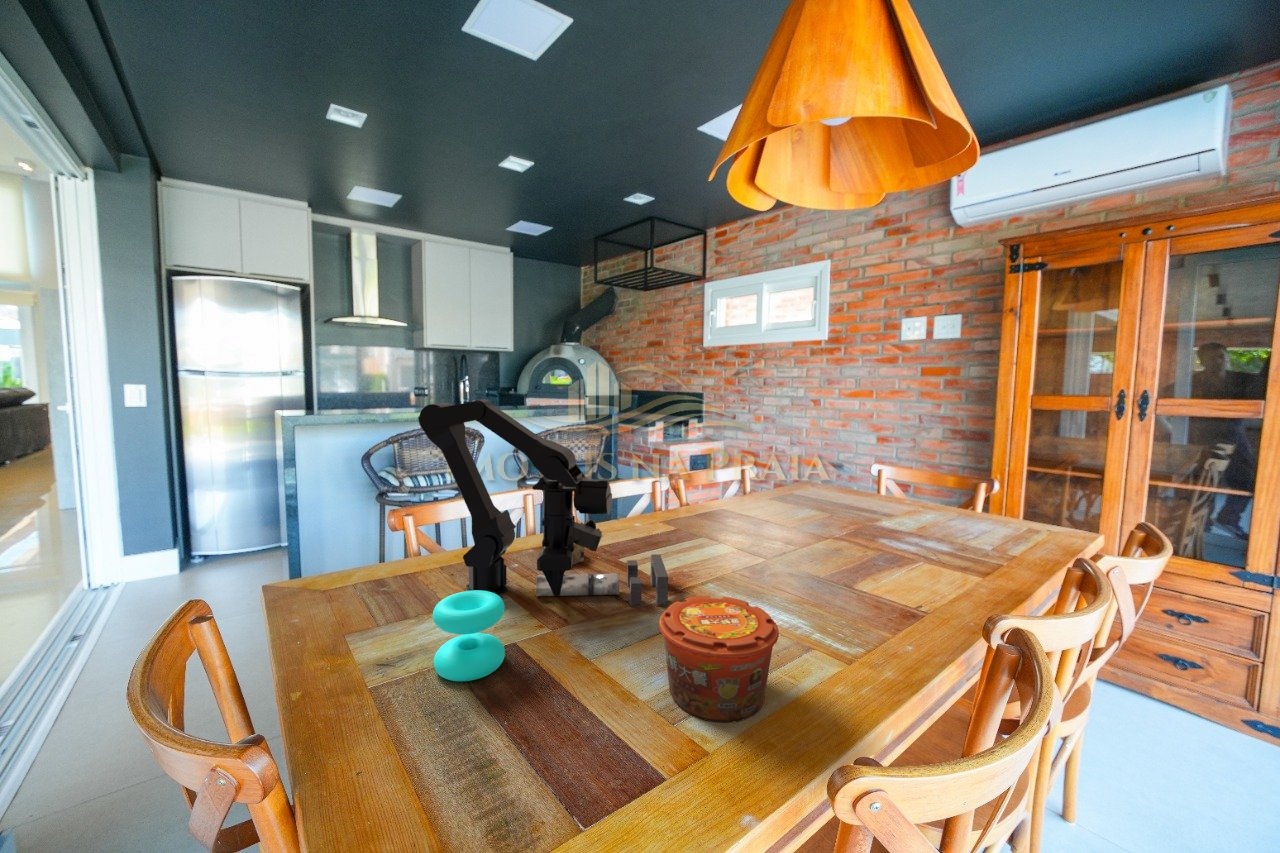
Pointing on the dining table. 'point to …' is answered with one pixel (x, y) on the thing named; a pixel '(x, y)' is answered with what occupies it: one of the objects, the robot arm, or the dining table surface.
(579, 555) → the bread roll
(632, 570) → the cradle collar
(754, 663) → the food container
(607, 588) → the tube
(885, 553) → the dining table surface
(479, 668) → the donuts
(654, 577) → the gray bridge arch
